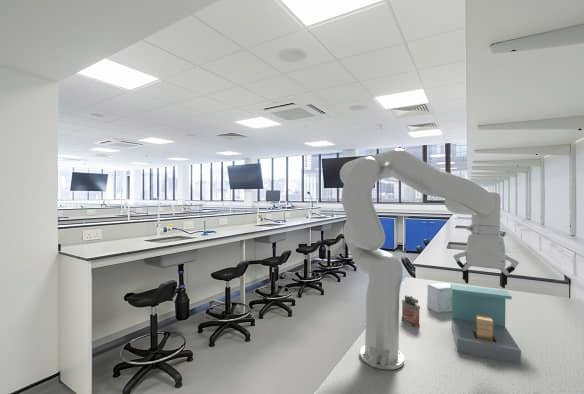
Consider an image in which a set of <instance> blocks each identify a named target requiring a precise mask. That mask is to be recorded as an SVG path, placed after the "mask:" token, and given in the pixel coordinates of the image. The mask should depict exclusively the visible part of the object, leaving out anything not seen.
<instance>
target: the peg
mask: <svg viewBox="0 0 584 394" xmlns="http://www.w3.org/2000/svg"><path fill="white" fill-rule="evenodd" d="M476 339H481V340H487V341H492V342H493V320H492V318H491V316H485V315H478V314H476Z"/></svg>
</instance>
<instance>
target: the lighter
mask: <svg viewBox="0 0 584 394" xmlns="http://www.w3.org/2000/svg"><path fill="white" fill-rule="evenodd" d="M401 304H402V305H401V321H402V322H404V323H405V324H407V325H409V326H411V327H413V328H420V327H421V323H420V309H421V306H420V305H419V300H418V299H416V298H414V297H413V295H412V296H411V295H410V296H409V295H406V294H405V295H404V299H402V300H401Z"/></svg>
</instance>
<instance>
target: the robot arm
mask: <svg viewBox="0 0 584 394" xmlns="http://www.w3.org/2000/svg"><path fill="white" fill-rule="evenodd" d="M339 178H340V181H341V183H343V187H342V191H341V204H342V207H343V208H342V209H343V210H344V214H345V216H346V219H347V221H346V222H345V224H344V226H343V231H342V232H343V237H344V241H345V243H346V246H347V248H348V251H349V253H350V256H351V258H352V260H353V263H354V265H355V267H356V268H357V269H358V271H359V272H360V273H361V274H362V275H364V276H366V277H367V278H368V283H367V287H366V290H365V320H364V321H365V324H364V326H365V327H364V328H365V329H364V330H365V331H364V332H365V334H364V338H365V339H364V345H363V346H361V348H360V349H359V357H360V359H361V360H362V361H363V362H364V363H365V364H367V365H369V366H370V367H373V368H375V369H379V370H386V371H391V370H397V369H399V368H401V367H403V366H404V364H405V357H404V356H405V355H404V354H403V353H402V352H401V351H400V349H399V348H400V347H399V346H400V345H399V344H400V343H399V342H400V341H399V340H400V335H399V334H400V292H401V284H402V280H403V276H404V268H403V264H402V263H401V261H400V259H399V258H398V257H397V256H396V255H394V254H393V253H391V252H389V251H387V250H383V249H381V248H382V247H383V246H384V244H385V242H386V233H385V230H384V227H383V224H382V223H381V220H380V218H379V216H378V213H377V210H376V209H375V206H374V205H375V204H374V202H373V198H372V196H373V195H372V194H373V189H374V186H375V184H376V182H378V181H381V180H384V179H388V178H394V179H396V180H397V181H399V182H400V183H403V184H404V185H406V186H408V187H410V188H412V189H413V190H416V192H418V193H420V194H423V195H427V196H430V197H435V198H436V197H437V198H442V199H444V207H445V209H447V211H449V212H451V213H453V214H456V215H466V216H467V215H469V216H470V215H471V224H470V225H469V226H468V225H466V226H465V227H466V228H465V229H466V231H469V232H470V233H469V234H468V236H467V241H466V246H465V247H466V250H464V251H462V252H458V253H456V254H453V259H454V260H455V262H456V264H457V265H458V266H459V268H461V270H462V280H463V281H464V282H465V284H468V285H469V280H470V279H469V277H470V276H469V275H470V274H469V273H470V271H469V269H470V267H475V268H485V269H497V270H499V271H500V273H499V286H500V287H501V288H503V289H505V288H506V286H507V285H508V276H509V275H510V274H511V273H512V272H514V271H515V270H516V268H517V267H518V265H519V264H520V262H519V261H518V260H516V259H515V258H512V257H510V256H508V255H506V245H505V240H504V236H502V235H501V204H502V203H501V201H502V200H501V199H502V198H501V197H502V196H501V195H500V193H498V192H494V191H488V190H487V189H486V188H484V187H482V186H481V185H479V184H477V183H475V182H473V181H472V180H469V179H467V178H465V177H462V176H459V175H456V174H452V173H451V172H448V171H444V170H441V169H438V168H436V167H435V166H432V165H431V164H429V163H427V162H426V161H424V160H423V159H421V158H419V157H417V156H416V155H415V154H413V153H411V152H409V151H407V150H405V149H402V148H392V149H389V150H386V151H383V152H380V153H378V154H374V155H371V156H362V157H361V156H360V157H359V158H358V157H357V158H356V159H352V160H350V161H348V162H346V163H344V164H343V165H342V167H341V168H340V170H339ZM464 257H465V263H463V262H462V261H461V260H460V258H464ZM506 261H508V262H509V263H510V265H508V266H507V267H506V264H507V262H506Z"/></svg>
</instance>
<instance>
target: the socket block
mask: <svg viewBox="0 0 584 394" xmlns="http://www.w3.org/2000/svg"><path fill="white" fill-rule="evenodd" d="M451 290H452V311H451V330H452V335H453V340H454V344H455V349H456V352H458V353H464V354H466V355H467V354H468V355H473V356H476V357H477V356H478V357H482V358H487V359H491V360H492V359H493V360H497V361H502V362H507V363H512V364H517V365H522V364H521V363H522V362H521V361H522V359H521V358H522V350H521V349H520V347H519V346H518V344H517V343H516V341H515V339H514V338H513V337H512V335H511V333H510V331H509V330H508V329H507V327H506V300H512V295H511V294H510V293H509V291H506V290H500V289H492V288H483V287H474V286H465V285H460V284H459V285H457V284H452V285H451ZM476 314H478V315H485V316H491V318H492V320H493V342H492V341H487V340H481V339H476Z"/></svg>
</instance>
